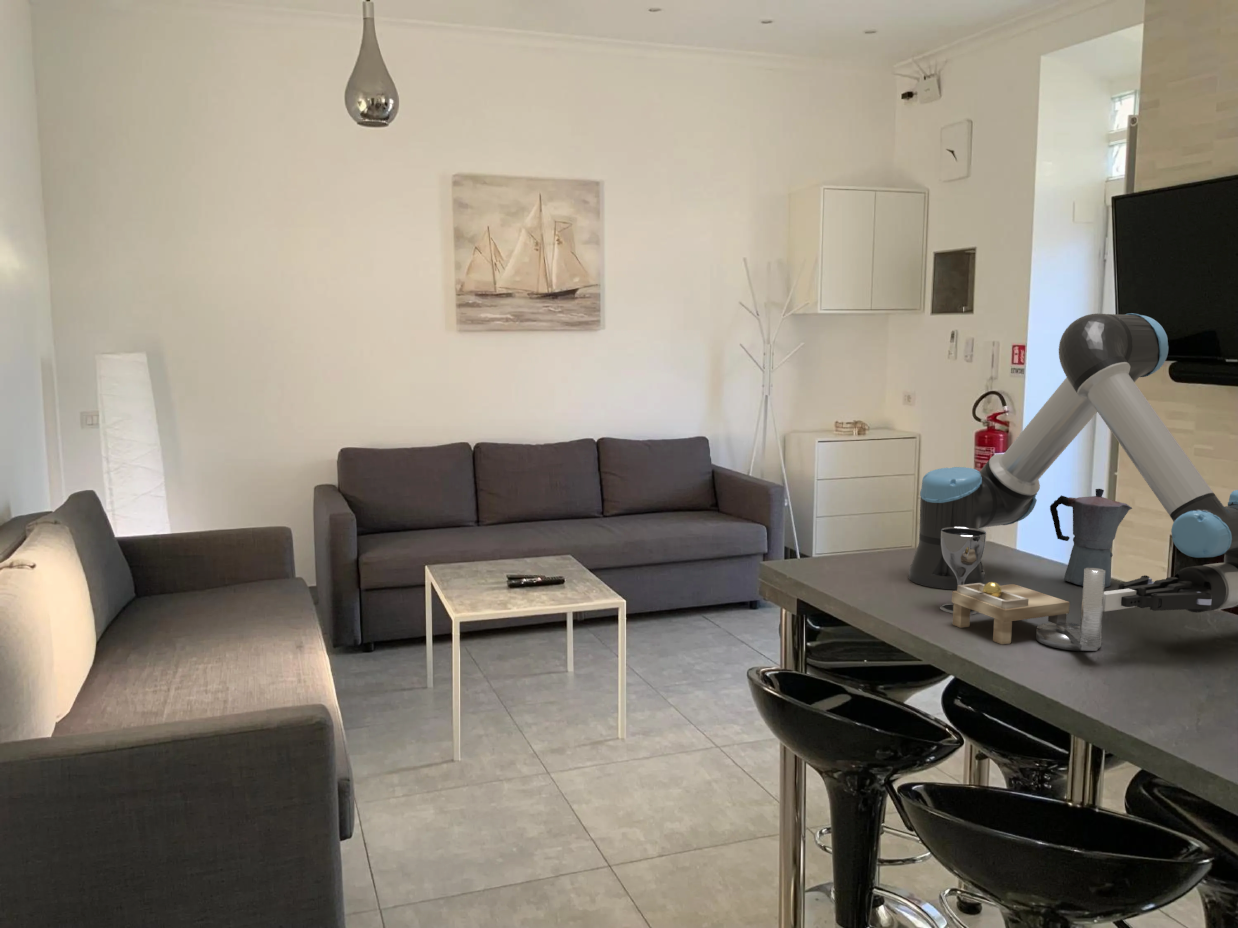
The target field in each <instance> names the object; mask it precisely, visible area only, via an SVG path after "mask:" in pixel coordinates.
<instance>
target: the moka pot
mask: <svg viewBox="0 0 1238 928" xmlns="http://www.w3.org/2000/svg"><path fill="white" fill-rule="evenodd" d="M1104 491H1105V490H1104V489H1102V488H1096V489H1095V495H1093V496H1092V495H1091V496H1081V497H1067V496H1065V495H1060V496H1059V497H1057V499H1055V500H1054V501H1053V502H1052V503H1051V505H1050V506H1049V510H1050V514H1051V519H1052V521H1053V527H1054V531H1055V534H1056V538H1057V540H1061V541H1065V542H1069V540H1070V538H1071V537H1070V536H1068V535H1063V532H1062V530H1061V522H1060V517H1059V511H1058V509H1057V508H1058V507H1059V506H1060V505H1064V506H1065V507H1071V508H1072V535H1073V536H1074V537H1073V538H1072V541H1073V545H1072V548H1071V552H1070V555H1069V556H1070V557H1069V560H1068V562H1067V567H1066V569H1065V573H1064V578H1063V580H1064V581H1067V582H1069V583H1070V584H1075V585H1077V586H1082V587H1083V580H1084V569H1085V568H1098V569H1103V570H1105V585H1104V588H1109V587H1110V586H1111V583H1112V582H1111V581H1112V578H1111V577H1112V567H1111V566H1112V565H1111V564H1112V561H1111V560H1112V559H1111V558H1112V557H1113V552H1112V550H1111V549H1112V546H1113V541H1114V540H1115V538H1116V534H1117V532H1118V527H1119V526H1120V524H1121V523H1122V521H1123V520H1124V518H1125V517H1126V515H1127V514H1128V512H1129V511H1130V510H1132V509H1133V508H1132V506H1130V505H1129V504H1127V503H1124V502H1121V501H1117V500H1116V501H1115V500H1112V499H1110V498H1106V497H1103V495H1104Z"/></svg>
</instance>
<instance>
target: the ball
mask: <svg viewBox="0 0 1238 928" xmlns="http://www.w3.org/2000/svg"><path fill="white" fill-rule="evenodd" d="M1000 586H1001V585H1000V583H997V582H995V581H988V582H986V583H985V585H984V587H983V592H985V593H986V594H989V595H992V596H994V597H997V598H998V597H999V596H1000V595H1001V587H1000Z"/></svg>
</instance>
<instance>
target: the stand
mask: <svg viewBox="0 0 1238 928" xmlns="http://www.w3.org/2000/svg"><path fill="white" fill-rule="evenodd" d="M985 584H986V583H985ZM985 584H982V583H974V584H966V585H958V586H957V589H956V590H953V591H952V592H951V604H954V606H953V613H952V626H955V627H958V628H960V629H961V628H962V629H963V628H969V627H970V621H971V620H970V619H971V615H970V609H971V610H974V611H977V612H979V613H980V614H981V615H985V616H988V617H991V618H992V619H993V635H992V642H995V643H997V644H999V645H1005V644H1006V645H1007V644H1012V643H1011V642H1012V627H1013V622H1016V621H1022V620H1029V619H1037V618H1044V617H1045V618H1046V617H1048V619H1047V622H1048V623H1054V624H1057V623H1059V622H1067V618H1068V617H1067V614H1069V613H1070V603H1071V602H1070V601H1067V600H1064V599H1061V598H1059V597H1055V596H1052V595H1049V594H1045V593H1042V592H1039V591H1037V590H1034V589H1030V588H1027V587H1025V586H1024V587H1023V586H1020V585H1018V584H1015V583H1011V584H1004V585H1000V587H1001V595H1000V596H999V597H998V598H997V597H994V596H992V595H989V594H986V593H985V592H983V587H984V585H985ZM979 613H978V614H979Z"/></svg>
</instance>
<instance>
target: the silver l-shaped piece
mask: <svg viewBox="0 0 1238 928" xmlns="http://www.w3.org/2000/svg"><path fill="white" fill-rule="evenodd" d="M1104 585H1105V570H1103V569H1098V568H1085V569H1084V580H1083V586H1082V597H1081V598H1082V599H1081V612H1080V613H1081V615H1080V624H1078V623H1073V622H1068V621H1066V622H1059V623H1057V624H1054V623H1051V622H1046V623H1042V624H1041V623H1040V624H1038V625H1037V626H1036V632H1035V639H1036V641H1038V642H1039V643H1041V644H1042V645H1045V646H1048V647H1052V648H1056V649H1060V650H1065V651H1066V650H1067V651H1078V652H1082V651H1083V652H1084V651H1085V652H1086V651H1093V652H1094V651H1096V652H1097V651H1098V649H1100V648H1101V647H1102V639H1103V637H1102V627H1103V612H1104V611H1103V599H1104V592H1105V587H1104Z"/></svg>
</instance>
